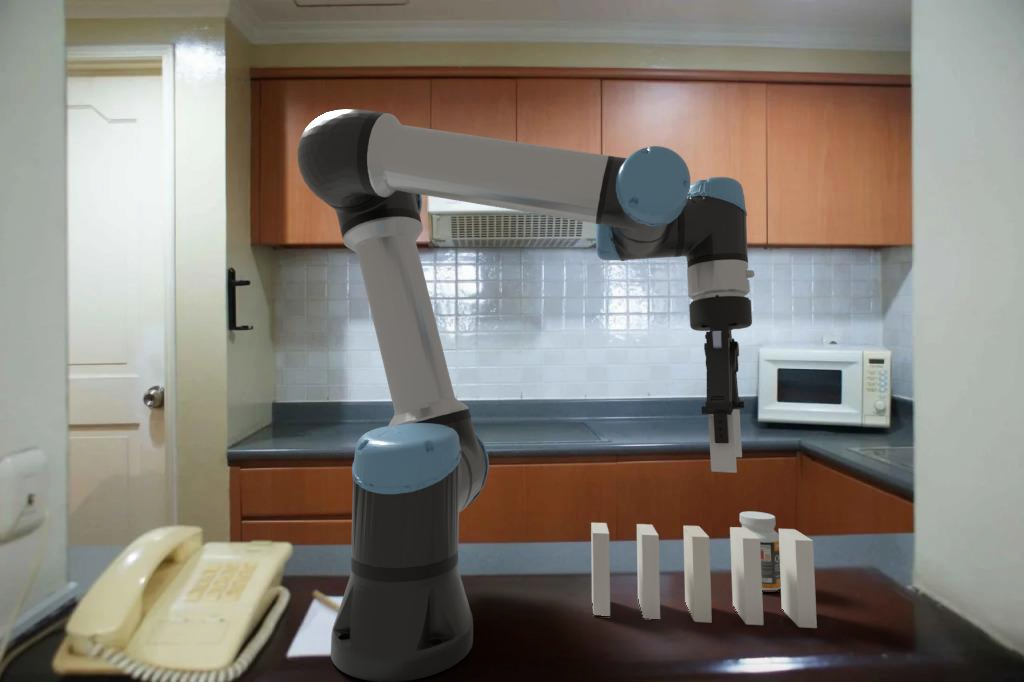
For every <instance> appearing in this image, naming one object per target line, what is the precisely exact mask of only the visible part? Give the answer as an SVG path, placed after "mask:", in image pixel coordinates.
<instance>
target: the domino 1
mask: <svg viewBox="0 0 1024 682" xmlns="http://www.w3.org/2000/svg"><path fill="white" fill-rule="evenodd" d="M590 526H591V527H590V531H591V533H590V537H591V538H590V539H591V540H590V541H591V544H590V545H591V546H590V547H591V551H590V552H591V553H590V554H591V557H590V560H591V604H592V603H593V606H592V614H594V615H601V616H610V617H611V585H610V584H611V583H610V582H611V578H610V577H611V576H610V574H611V573H610V570H611V569H610V567H611V565H610V563H611V562H610V532H609V528H608V524H607V522H590ZM594 615H593V616H594Z"/></svg>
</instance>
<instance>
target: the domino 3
mask: <svg viewBox="0 0 1024 682" xmlns="http://www.w3.org/2000/svg"><path fill="white" fill-rule="evenodd" d="M682 533H683V565H684V568H683V569H684V571H683V572H684V603H685V602H686V605H687V607H688V609H689V610H688V609H687V610H688V612H689V611H690V612H689V614H690V613H691V614H690V616H691V618H692V620H693V621H694V623H695V622H696V623H710V624H711V623H712V622H713V621H712V618H713V617H712V589H711V588H712V586H711V584H712V583H711V580H712V579H711V556H710V555H711V552H710V551H711V549H710V546H711V545H710V536H709V535H708V534H707V533H706V532H705V531H704V530H703V528H701V527H700V526H699V525H683V532H682ZM686 605H685V606H686ZM687 607H686V608H687Z"/></svg>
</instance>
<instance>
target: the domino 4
mask: <svg viewBox="0 0 1024 682" xmlns="http://www.w3.org/2000/svg"><path fill="white" fill-rule="evenodd" d="M729 535H730V536H729V539H730V559H731V560H730V565H731V567H730V568H731V592H732V607H733V606H734V607H735V609H736V610H735V609H734V610H735V611H737V612H738V613H737V612H736V613H737V614H738V615H739V617H740V619H742V621H743V622H744V624H745V625H750V626H751V625H753V626H765V625H764V609H763V608H764V607H763V605H764V604H763V603H764V602H763V592H762V575H761V551H760V538H758V537H757V536H756V535H755V534H753V533H752V532H751V531H750V530H748V529H747V528H745V527H742V526H741V527H740V526H739V527H738V526H734V527H733V526H730V527H729Z"/></svg>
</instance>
